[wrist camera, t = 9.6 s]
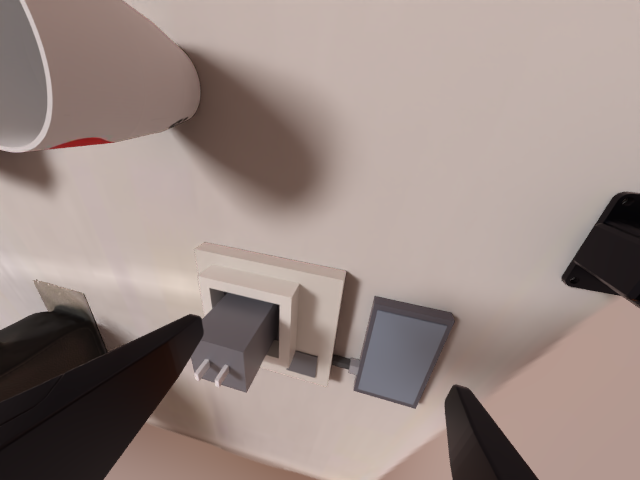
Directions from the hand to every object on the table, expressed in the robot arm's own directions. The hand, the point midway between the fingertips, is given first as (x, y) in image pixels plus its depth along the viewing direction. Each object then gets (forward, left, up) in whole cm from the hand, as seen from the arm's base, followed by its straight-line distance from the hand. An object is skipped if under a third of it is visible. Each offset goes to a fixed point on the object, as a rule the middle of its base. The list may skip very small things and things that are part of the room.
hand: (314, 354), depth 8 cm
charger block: (+8, +9, -10) cm, 16 cm away
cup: (+15, -9, -12) cm, 21 cm away
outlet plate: (+7, +11, -12) cm, 18 cm away
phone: (-6, +12, -12) cm, 18 cm away
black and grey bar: (-1, +15, -12) cm, 19 cm away
